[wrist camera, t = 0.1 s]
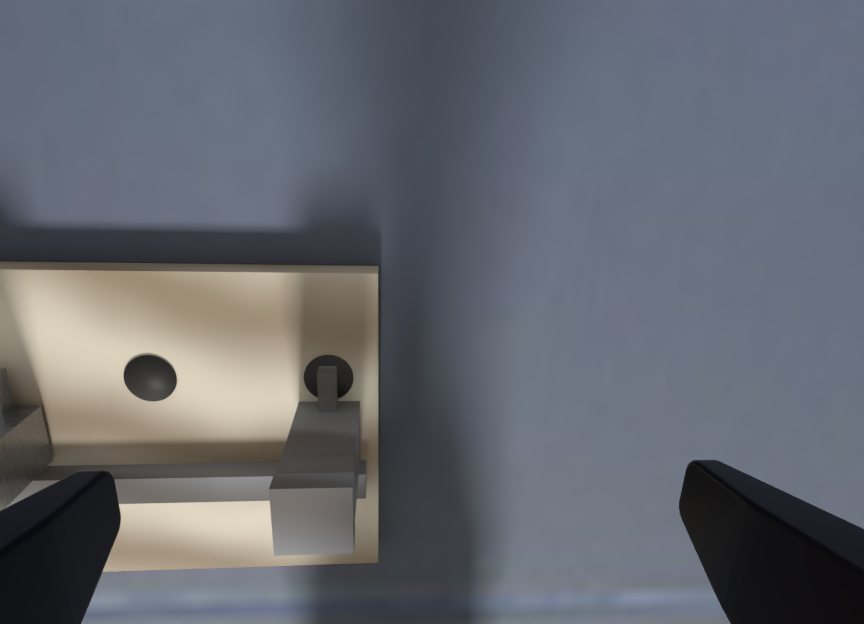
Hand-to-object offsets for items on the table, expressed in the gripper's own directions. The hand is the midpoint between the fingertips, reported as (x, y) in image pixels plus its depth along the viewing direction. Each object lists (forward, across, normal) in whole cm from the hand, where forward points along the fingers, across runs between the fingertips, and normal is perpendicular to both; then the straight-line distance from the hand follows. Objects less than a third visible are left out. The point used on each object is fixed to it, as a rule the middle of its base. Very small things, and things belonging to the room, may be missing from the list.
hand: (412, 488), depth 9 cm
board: (+14, +13, +7) cm, 21 cm away
